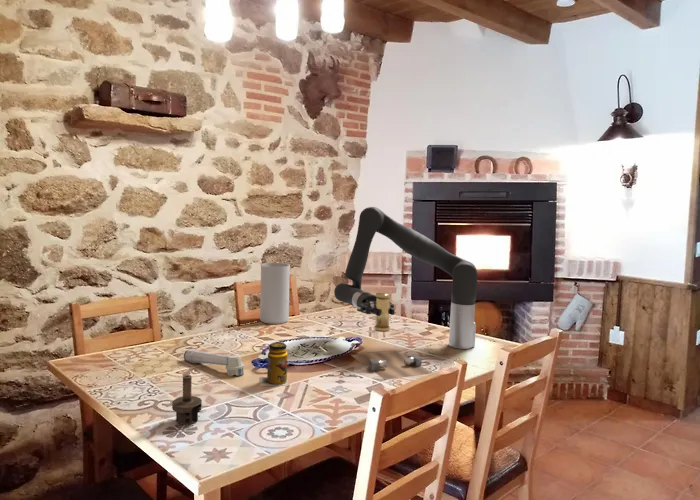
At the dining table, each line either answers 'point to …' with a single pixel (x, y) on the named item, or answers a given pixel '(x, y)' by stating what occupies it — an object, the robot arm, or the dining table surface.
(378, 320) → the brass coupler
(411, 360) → the shaft
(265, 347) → the dining table surface
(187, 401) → the industrial component
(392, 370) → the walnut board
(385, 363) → the shaft
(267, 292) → the cylinder vase
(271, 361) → the condiment
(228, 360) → the grey lever handle
